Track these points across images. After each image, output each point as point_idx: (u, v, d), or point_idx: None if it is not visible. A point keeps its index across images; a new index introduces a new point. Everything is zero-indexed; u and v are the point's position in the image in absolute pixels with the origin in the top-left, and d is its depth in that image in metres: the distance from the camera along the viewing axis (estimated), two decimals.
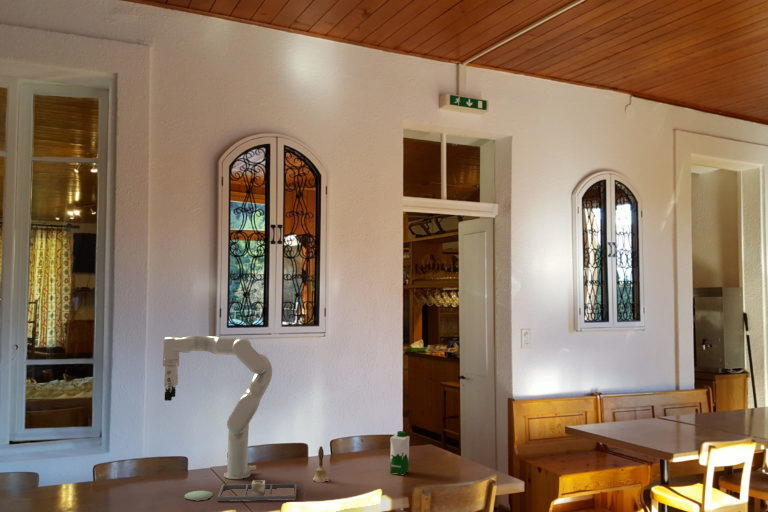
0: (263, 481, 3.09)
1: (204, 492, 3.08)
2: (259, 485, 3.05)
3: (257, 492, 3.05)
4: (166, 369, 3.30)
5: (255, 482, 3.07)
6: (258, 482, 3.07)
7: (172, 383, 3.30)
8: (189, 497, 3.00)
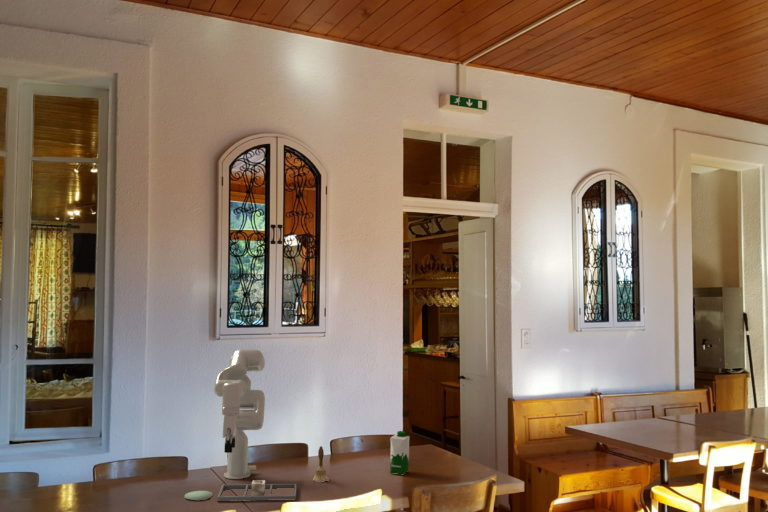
0: (263, 481, 3.09)
1: (204, 492, 3.08)
2: (259, 485, 3.05)
3: (257, 492, 3.05)
4: None
5: (255, 482, 3.07)
6: (258, 482, 3.07)
7: None
8: (189, 497, 3.00)
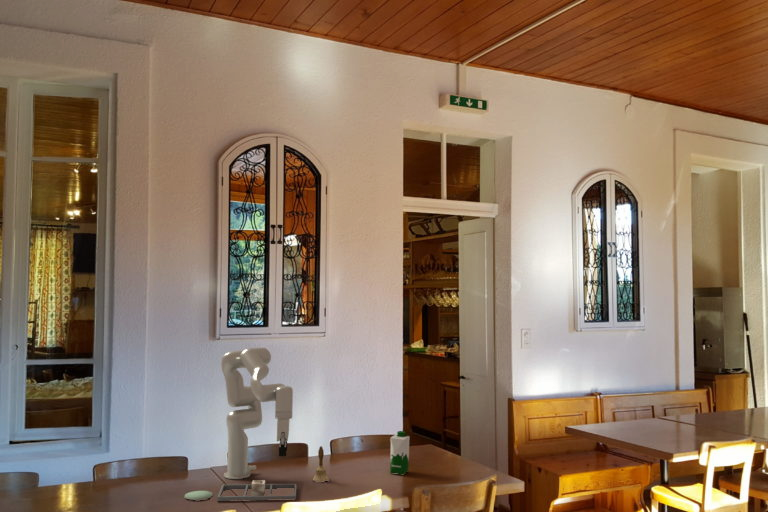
0: (263, 481, 3.09)
1: (204, 492, 3.08)
2: (259, 485, 3.05)
3: (257, 492, 3.05)
4: None
5: (255, 482, 3.07)
6: (258, 482, 3.07)
7: None
8: (189, 497, 3.00)
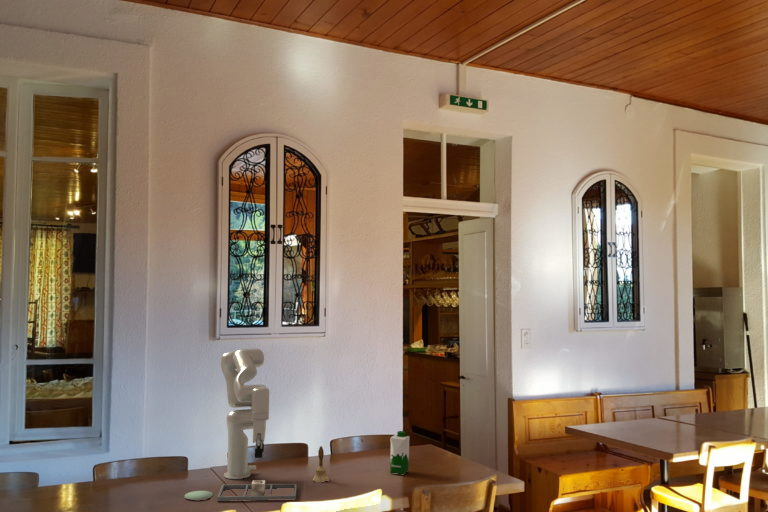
0: (263, 481, 3.09)
1: (204, 492, 3.08)
2: (259, 485, 3.05)
3: (257, 492, 3.05)
4: None
5: (255, 482, 3.07)
6: (258, 482, 3.07)
7: None
8: (189, 497, 3.00)
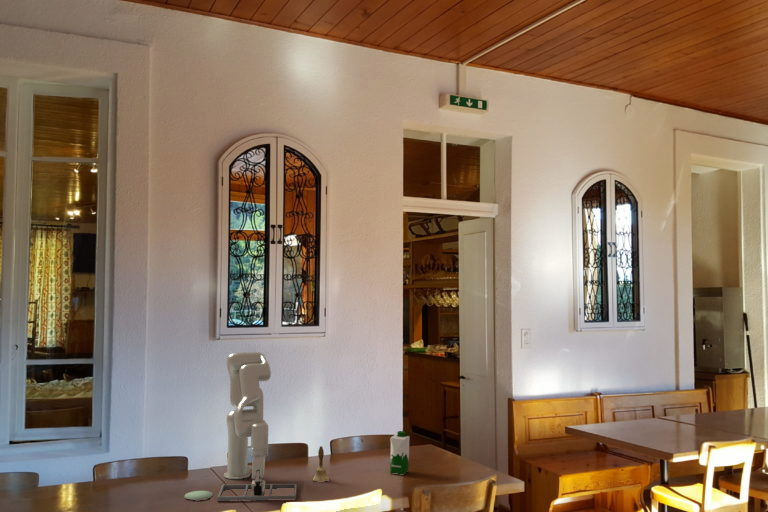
0: (263, 481, 3.09)
1: (204, 492, 3.08)
2: None
3: None
4: None
5: None
6: None
7: None
8: (189, 497, 3.00)
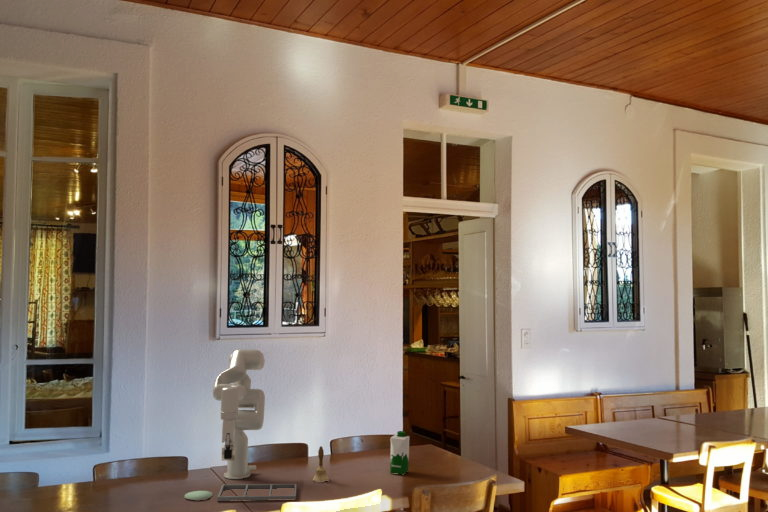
0: (233, 445, 3.08)
1: (204, 492, 3.08)
2: None
3: None
4: None
5: None
6: None
7: None
8: (189, 497, 3.00)
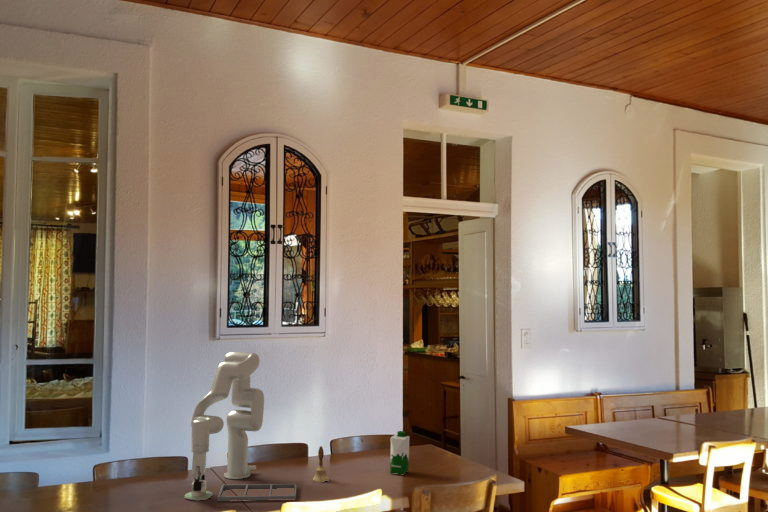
0: (204, 481, 3.06)
1: None
2: None
3: (197, 492, 3.02)
4: None
5: None
6: None
7: None
8: (189, 497, 3.00)
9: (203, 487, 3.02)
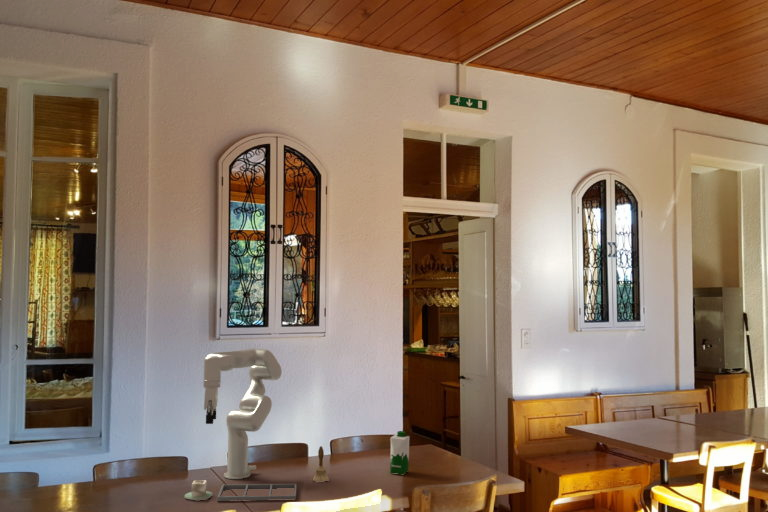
0: (204, 481, 3.06)
1: None
2: (199, 485, 3.02)
3: (197, 492, 3.02)
4: None
5: (196, 482, 3.04)
6: (199, 482, 3.04)
7: None
8: (189, 497, 3.00)
9: (203, 487, 3.02)
